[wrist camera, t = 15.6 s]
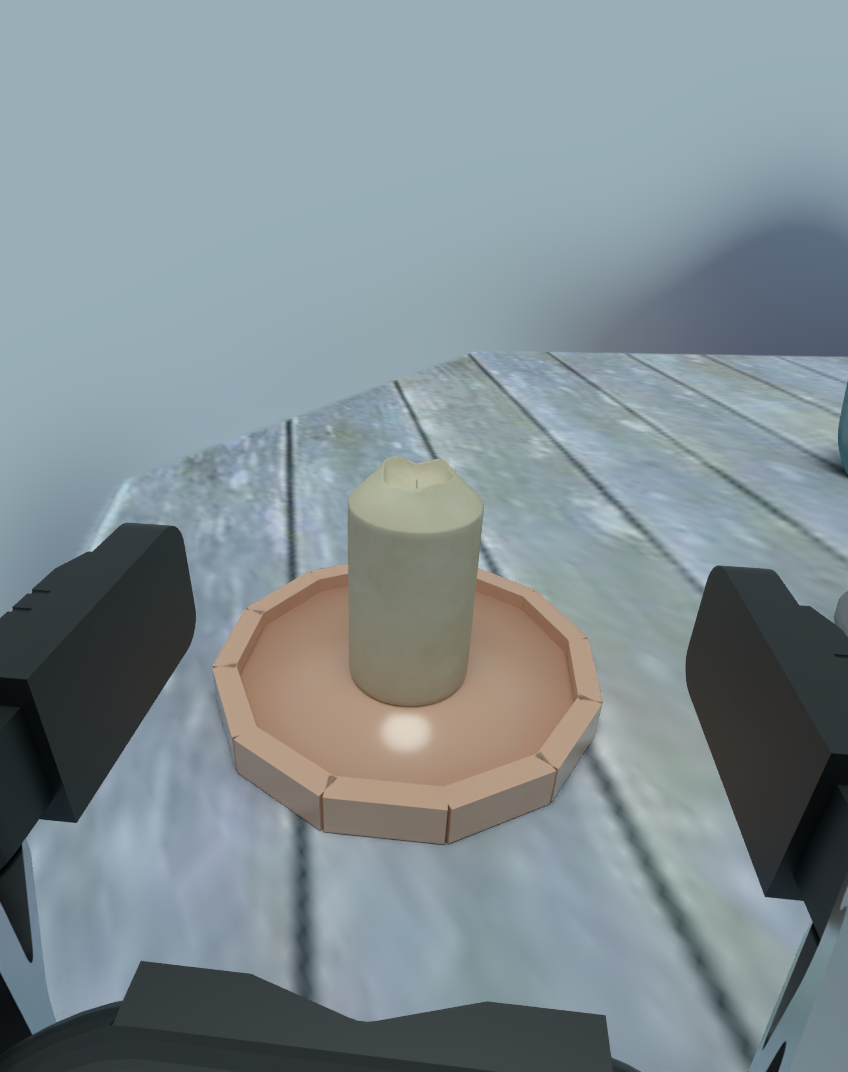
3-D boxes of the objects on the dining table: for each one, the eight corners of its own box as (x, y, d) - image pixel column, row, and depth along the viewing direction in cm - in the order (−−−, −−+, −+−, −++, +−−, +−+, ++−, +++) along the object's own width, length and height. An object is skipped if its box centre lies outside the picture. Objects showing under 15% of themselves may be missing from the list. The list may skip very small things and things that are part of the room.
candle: (324, 665, 31) (318, 464, 26) (407, 618, 34) (415, 434, 29) (409, 728, 27) (421, 511, 23) (491, 668, 31) (515, 470, 26)
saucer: (477, 563, 41) (479, 538, 41) (672, 755, 28) (682, 724, 27) (195, 622, 35) (191, 593, 34) (275, 912, 21) (271, 877, 20)
